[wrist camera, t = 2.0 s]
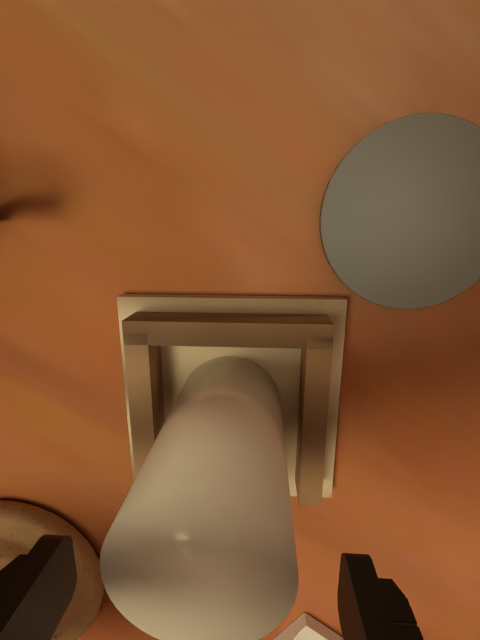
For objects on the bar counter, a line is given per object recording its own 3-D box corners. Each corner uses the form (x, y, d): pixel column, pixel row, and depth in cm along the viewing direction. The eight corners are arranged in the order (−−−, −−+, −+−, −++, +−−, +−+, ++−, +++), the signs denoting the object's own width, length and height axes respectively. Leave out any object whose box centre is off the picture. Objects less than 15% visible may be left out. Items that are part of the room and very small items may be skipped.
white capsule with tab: (178, 355, 19) (89, 488, 9) (282, 357, 18) (303, 499, 9) (184, 481, 21) (116, 698, 11) (277, 485, 20) (290, 714, 11)
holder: (122, 294, 19) (99, 304, 16) (343, 296, 18) (358, 307, 15) (138, 479, 22) (120, 514, 19) (328, 488, 21) (338, 525, 18)
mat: (325, 118, 16) (327, 114, 16) (524, 115, 16) (534, 111, 15) (314, 305, 18) (316, 307, 18) (488, 308, 18) (496, 310, 17)
